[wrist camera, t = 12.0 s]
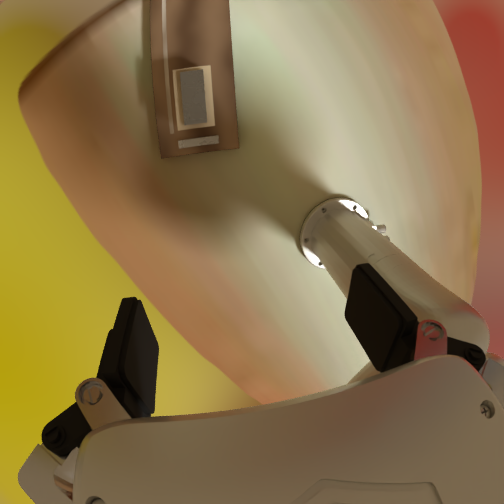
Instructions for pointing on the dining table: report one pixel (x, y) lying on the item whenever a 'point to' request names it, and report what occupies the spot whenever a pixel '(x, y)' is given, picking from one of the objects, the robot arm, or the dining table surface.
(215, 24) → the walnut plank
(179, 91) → the beige rectangular block
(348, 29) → the dining table surface
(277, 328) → the dining table surface
